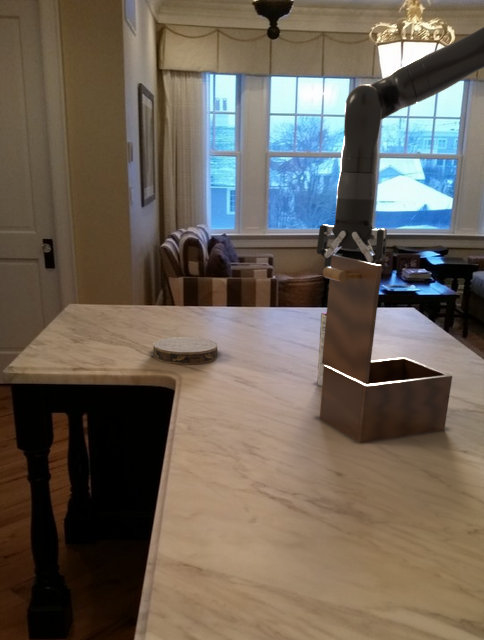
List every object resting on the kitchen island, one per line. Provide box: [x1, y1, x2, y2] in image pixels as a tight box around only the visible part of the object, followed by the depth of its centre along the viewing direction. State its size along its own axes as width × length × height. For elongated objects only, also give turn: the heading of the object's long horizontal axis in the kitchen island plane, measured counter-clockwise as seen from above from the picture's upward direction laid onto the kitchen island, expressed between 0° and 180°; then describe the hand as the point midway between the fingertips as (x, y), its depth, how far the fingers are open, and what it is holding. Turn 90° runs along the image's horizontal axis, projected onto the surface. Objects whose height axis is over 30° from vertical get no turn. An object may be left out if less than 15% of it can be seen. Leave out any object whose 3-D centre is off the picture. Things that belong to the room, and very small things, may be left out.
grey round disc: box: [152, 336, 218, 365], centre depth 175 cm, size 16×16×3 cm
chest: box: [319, 357, 453, 444], centre depth 130 cm, size 19×14×11 cm
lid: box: [322, 254, 383, 384], centre depth 120 cm, size 19×14×5 cm
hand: (348, 278), depth 148 cm, fingers open, 8 cm apart
